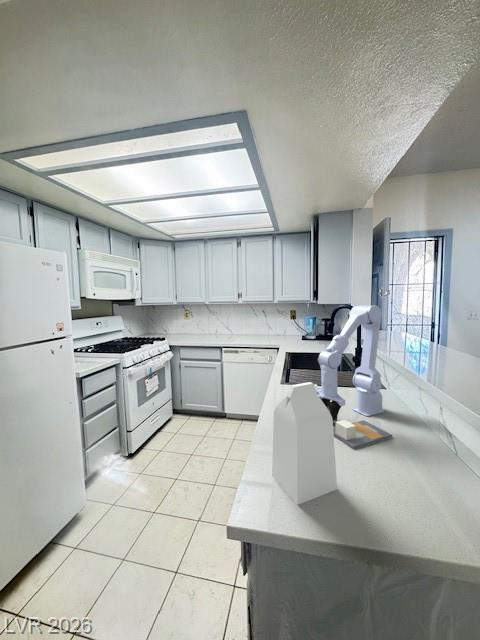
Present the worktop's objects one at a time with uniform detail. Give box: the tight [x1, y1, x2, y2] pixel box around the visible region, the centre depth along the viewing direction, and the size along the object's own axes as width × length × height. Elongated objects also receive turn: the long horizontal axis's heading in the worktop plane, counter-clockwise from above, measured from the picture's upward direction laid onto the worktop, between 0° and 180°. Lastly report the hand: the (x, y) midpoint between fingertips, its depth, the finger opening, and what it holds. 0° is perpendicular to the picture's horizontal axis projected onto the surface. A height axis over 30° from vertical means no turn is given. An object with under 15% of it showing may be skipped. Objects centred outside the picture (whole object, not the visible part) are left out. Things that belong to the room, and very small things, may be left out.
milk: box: [271, 381, 338, 506], centre depth 69 cm, size 12×12×26 cm
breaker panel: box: [333, 419, 393, 450], centre depth 92 cm, size 17×12×1 cm
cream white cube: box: [335, 419, 356, 440], centre depth 90 cm, size 4×5×4 cm
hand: (329, 417), depth 102 cm, fingers closed on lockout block, 4 cm apart
